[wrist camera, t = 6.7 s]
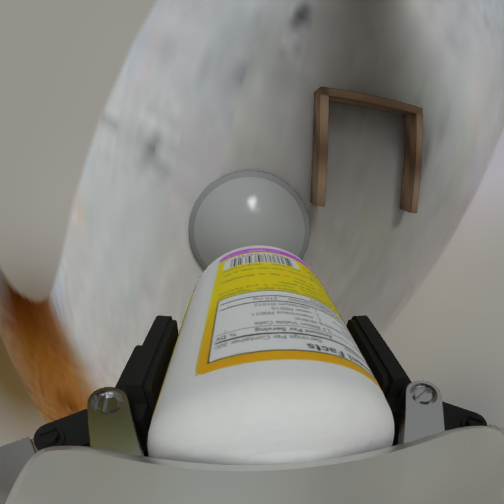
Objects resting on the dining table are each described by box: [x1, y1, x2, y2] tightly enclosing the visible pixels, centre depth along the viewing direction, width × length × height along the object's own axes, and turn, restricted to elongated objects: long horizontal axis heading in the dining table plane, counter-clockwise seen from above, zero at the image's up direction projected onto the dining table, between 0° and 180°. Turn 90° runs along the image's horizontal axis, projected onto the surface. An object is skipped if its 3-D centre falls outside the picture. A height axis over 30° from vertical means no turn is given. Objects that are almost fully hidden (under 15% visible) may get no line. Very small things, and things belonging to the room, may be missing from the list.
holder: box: [311, 87, 423, 213], centre depth 26 cm, size 12×12×2 cm
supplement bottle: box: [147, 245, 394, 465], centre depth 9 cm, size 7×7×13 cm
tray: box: [189, 170, 310, 270], centre depth 29 cm, size 12×12×1 cm
